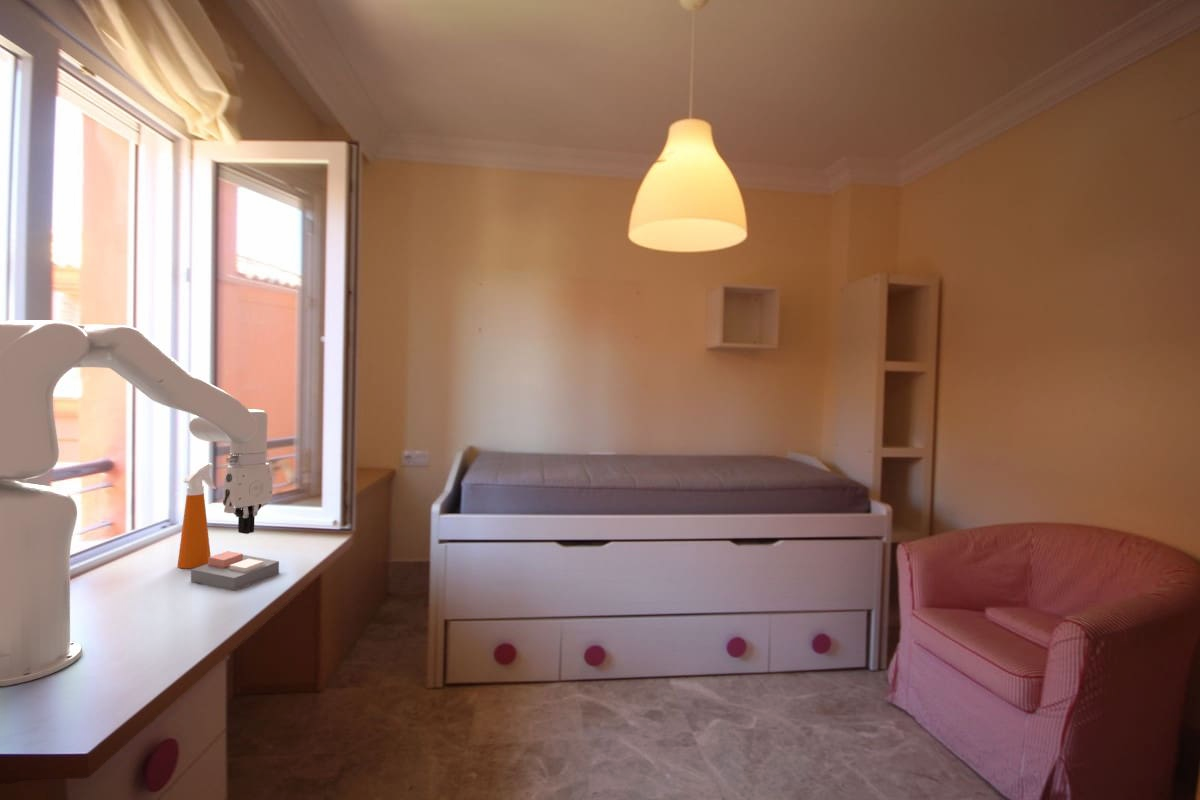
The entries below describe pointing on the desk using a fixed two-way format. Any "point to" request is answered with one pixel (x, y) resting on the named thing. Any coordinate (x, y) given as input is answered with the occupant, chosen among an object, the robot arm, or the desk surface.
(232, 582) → the key panel
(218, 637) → the desk surface
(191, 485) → the spray bottle
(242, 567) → the white key
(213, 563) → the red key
